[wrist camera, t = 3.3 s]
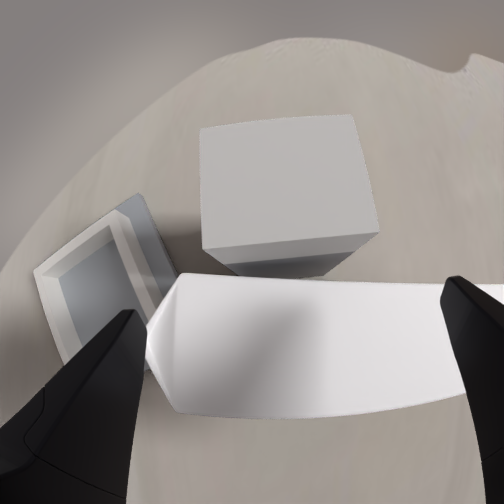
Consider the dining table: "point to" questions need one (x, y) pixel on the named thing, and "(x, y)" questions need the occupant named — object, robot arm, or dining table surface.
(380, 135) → the dining table surface
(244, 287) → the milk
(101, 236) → the socket plate
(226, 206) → the plug
